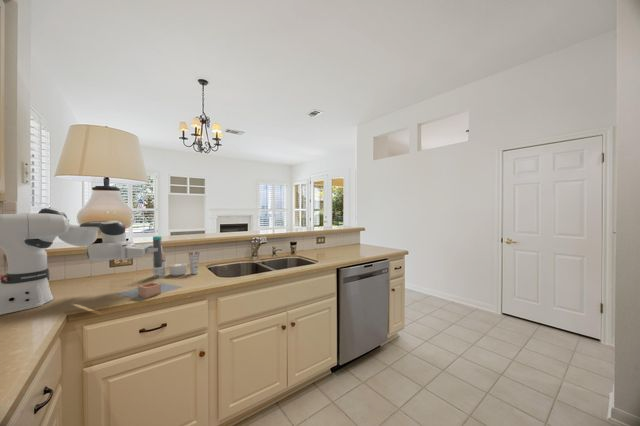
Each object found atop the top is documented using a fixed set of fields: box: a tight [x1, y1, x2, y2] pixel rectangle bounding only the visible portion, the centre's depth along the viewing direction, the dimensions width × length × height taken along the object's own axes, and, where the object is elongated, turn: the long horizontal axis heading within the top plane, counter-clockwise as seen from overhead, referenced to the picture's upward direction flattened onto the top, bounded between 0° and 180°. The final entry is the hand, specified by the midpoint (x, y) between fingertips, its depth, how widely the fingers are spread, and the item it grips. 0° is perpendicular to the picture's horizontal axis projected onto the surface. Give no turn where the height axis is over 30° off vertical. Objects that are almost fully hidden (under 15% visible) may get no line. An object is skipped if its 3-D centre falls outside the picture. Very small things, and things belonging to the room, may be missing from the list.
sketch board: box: [117, 281, 182, 301], centre depth 123 cm, size 20×19×1 cm
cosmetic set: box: [152, 245, 201, 278], centre depth 153 cm, size 25×9×19 cm, turn 115°
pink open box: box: [137, 281, 162, 299], centre depth 117 cm, size 7×7×4 cm
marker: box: [152, 235, 163, 268], centre depth 131 cm, size 4×4×16 cm
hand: (159, 248), depth 132 cm, fingers closed on marker, 4 cm apart
